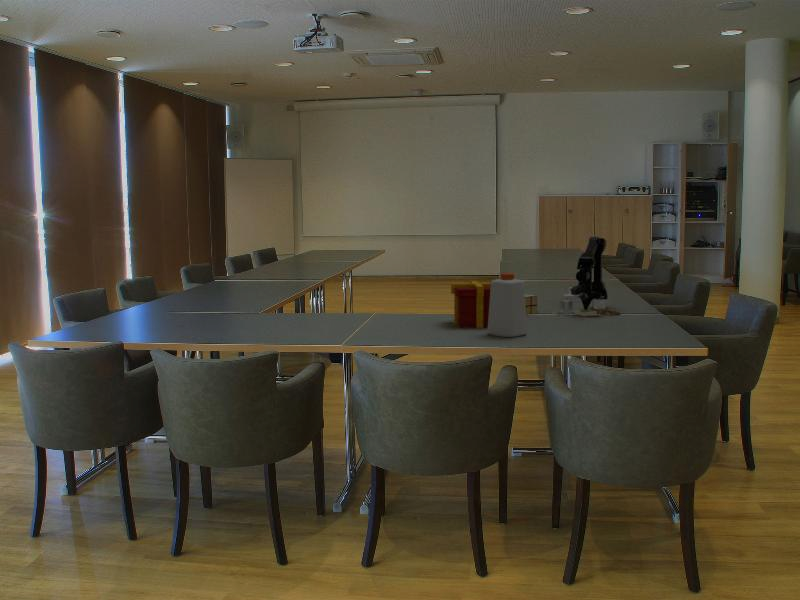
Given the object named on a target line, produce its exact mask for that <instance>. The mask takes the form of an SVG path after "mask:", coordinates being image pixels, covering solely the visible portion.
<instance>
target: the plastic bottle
mask: <svg viewBox="0 0 800 600" xmlns="http://www.w3.org/2000/svg"><path fill="white" fill-rule="evenodd" d="M490 283H491V290H490V303H489V317H488V327H487V330H486V331H487V333H488V335H491V336H494V337H495V336H496V337H500V338H509V339H510V338H515V337H521V336H525V335H527V334H528V333H527V331H528V328H527V327H528V326H527V314H526V309H525V294H526V292H525V282H524V280H522V279H516V278H515V273H512V272H510V273H509V272H505V273H504V272H502V273H501V274H500V278H499V279H493V280H491V282H490Z"/></svg>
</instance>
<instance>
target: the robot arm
mask: <svg viewBox="0 0 800 600" xmlns="http://www.w3.org/2000/svg"><path fill="white" fill-rule="evenodd" d="M606 247H607V240H606V239H605V238H604V237H598V236H591V237H589V238H588V244H587V247H586V249H585V252H583V253H581V255H580V256H579V258H578V261H577V265H576V270H579V271H578V272H576V274H575V279H576V281H578V285H575V286H573V288H571V289H570V290H571V294H572V295H578V294H579V296H578V297H579V298H580V299H581V301H582V302H581V303H582V306H583V309H584V310H587V309H589V307H590V305H591V303H592V302H593V299H606V300H608V291H607V289H606V283H605V282H604V281H603V254H604V251H605V250H606Z"/></svg>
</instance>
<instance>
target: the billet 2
mask: <svg viewBox="0 0 800 600" xmlns="http://www.w3.org/2000/svg"><path fill="white" fill-rule="evenodd" d="M606 300H607V299H593V300H592V309H593V310H597V311H600V310H605V309H606Z"/></svg>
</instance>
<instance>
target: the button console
mask: <svg viewBox="0 0 800 600" xmlns="http://www.w3.org/2000/svg"><path fill="white" fill-rule="evenodd" d="M574 312H575V313H574V315H577V316H581V317H589V316H590V317H591V316H592V317H593V316H597V315H598V314H597V312H596V311H591V310H590V312H582V309H580V310H579V309H578V310H574Z"/></svg>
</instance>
